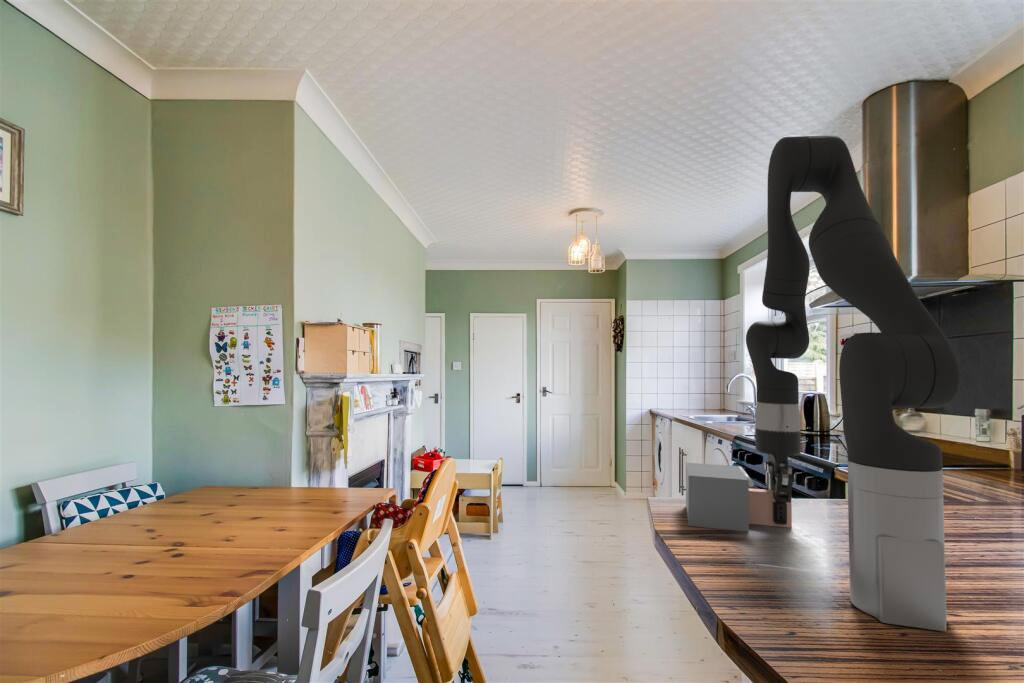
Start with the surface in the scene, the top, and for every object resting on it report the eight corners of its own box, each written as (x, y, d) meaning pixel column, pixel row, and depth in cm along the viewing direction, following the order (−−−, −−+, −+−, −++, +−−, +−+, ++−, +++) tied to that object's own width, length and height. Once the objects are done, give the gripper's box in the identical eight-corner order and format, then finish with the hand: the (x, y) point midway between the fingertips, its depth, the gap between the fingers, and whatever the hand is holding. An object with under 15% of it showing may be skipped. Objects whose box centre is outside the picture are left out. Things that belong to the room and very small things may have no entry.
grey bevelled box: (754, 532, 89) (754, 480, 89) (688, 525, 92) (688, 475, 92) (743, 511, 102) (742, 466, 103) (685, 506, 105) (685, 462, 106)
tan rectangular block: (791, 527, 92) (791, 494, 93) (698, 518, 97) (698, 486, 97) (788, 524, 94) (788, 491, 95) (697, 515, 99) (697, 484, 100)
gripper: (809, 432, 87) (811, 535, 86) (791, 424, 100) (792, 513, 99) (762, 430, 89) (762, 530, 88) (749, 423, 103) (750, 510, 102)
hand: (778, 521), depth 94 cm, fingers closed on tan rectangular block, 2 cm apart
